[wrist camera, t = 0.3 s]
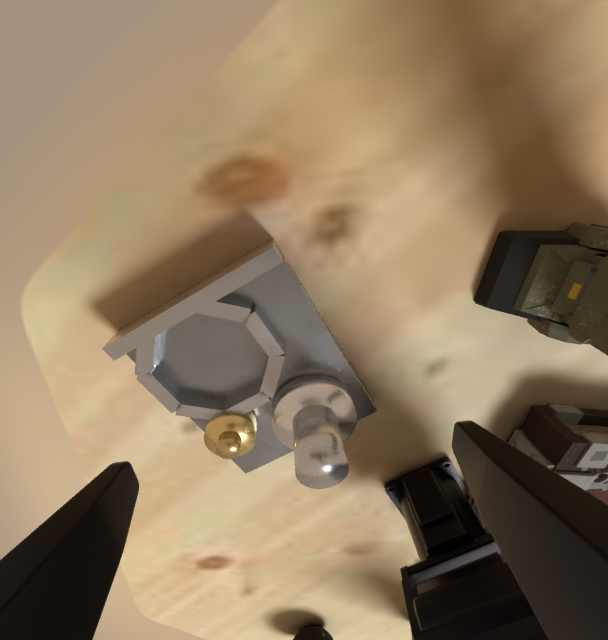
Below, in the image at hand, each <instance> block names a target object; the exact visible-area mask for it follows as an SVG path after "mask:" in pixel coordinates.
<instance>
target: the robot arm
mask: <svg viewBox="0 0 608 640" xmlns="http://www.w3.org/2000/svg"><path fill="white" fill-rule="evenodd" d="M452 448H453V452H454V455H455V457H456V459H457V462H458V464H459V466H460V469H461V471H462V473H463V476H464V478H465V480H466V483H467V485H468V488H469V490H470V492H471V495H472V497H473V499H474V501H475V504H476V506H477V508H478V510H479V512H480V514H481V516H482V518H483V519H484V521H485V523H486V525H487V527H488V529H489V530H490V532H491V533H488V534H486V532H485V530H484V529H483V527H482V525H481V523H480V522H479V520H478V518H477V516H476V514H475V513H474V511H473V509H472V507H471V506H470V504H469V502H468V500H469V499H470V496H469V494H468V493H467V491H466V489H465V487H464V485H463V483H462V481H461V479H460V477H459V475H458V473H457V471H456V469H455V467H454V465H453V464H452V462H451V460H450V459H449V458H444V459H441V460H439V461H437V462H434V463H432V464H430V465H427V466H425V467H423V468H421V469H418V470H416V471H414V472H411V473H409V474H407V475H404V476H402V477H400V478H398V479H395V480H393V481H391V482H388V483H387V484H385V486H384V487H385V490H386V493H387V494H388V495H389V497H390V498H391V500H392V501H393V502H394V504H395V505H396V507H397V508H398V509H399V511H400V512H401V514H402V515H403V517H404V518H405V520H406V522H407V525H408V528H409V531H410V533H411V536H412V539H413V542H414V544H415V547H416V550H417V553H418V555H419V558H420V561H421V562H418V563H416V564H413V565H411V566H409V567H407V566H405V567H403V568H401V575H402V579H403V580H402V586H403V591H404V596H405V601H406V606H407V611H408V615H409V620H410V625H411V632H412V640H608V504H606V503H605V502H603V501H601V500H600V499H598V498H596V497H595V496H593V495H592V494H590V493H588V492H587V491H585V490H583V489H582V488H580V487H579V486H577V485H575V484H574V483H572V482H570V481H569V480H567V479H566V478H564V477H562V476H561V475H559V474H557V473H556V472H554V471H553V470H551V469H549V468H548V467H546V466H544V465H543V464H541V463H540V462H538V461H536V460H535V459H533V458H531V457H530V456H528V455H527V454H525V453H523V452H522V451H520V450H518V449H517V448H515V447H514V446H512V445H510V444H509V443H507V442H505V441H504V440H502V439H501V438H499V437H497V436H496V435H494V434H492V433H491V432H489V431H488V430H486V429H484V428H483V427H481V426H479V425H478V424H476V423H475V422H473V421H460V422H456V424H455V426H454V433H453V440H452ZM138 491H139V482H138V479H137V477H136V475H135V472H134V470H133V468H132V466H131V464H130V463H129V462H127V461H125V462H117V463H112V464H111V465H109V466H108V467H107V468H106V469H105V470H104V471H102V472H101V473H100V474H99V475H98V476H97V477H96V478H94V479H93V480H92V481H91V482H90V483H89V484H87V485H86V486H85V487H84V488H83V489H82V490H81V491H79V493H77V494H76V495H75V496H74V497H72V498H71V499H70V500H69V501H68V502H67V503H66V504H64V505H63V506H62V507H61V508H60V509H59V510H57V511H56V512H55V513H54V514H53V515H52V516H51V517H50V518H48V519H47V520H46V521H45V522H44V523H43V524H41V525H40V526H39V527H38V528H37V529H36V530H34V531H33V532H32V533H31V534H30V535H29V536H28V537H27V538H25V539H24V540H23V541H22V542H21V543H20V544H18V545H17V546H16V547H15V548H14V549H13V550H11V551H10V552H9V553H8V554H7V555H6V556H4V557H3V558H2V559H1V560H0V640H92V639H93V636H94V634H95V631H96V628H97V625H98V622H99V619H100V617H101V614H102V611H103V608H104V605H105V602H106V600H107V596H108V594H109V591H110V588H111V585H112V582H113V580H114V577H115V574H116V571H117V568H118V566H119V563H120V560H121V557H122V554H123V550H124V547H125V543H126V540H127V536H128V532H129V528H130V524H131V519H132V515H133V511H134V507H135V503H136V499H137V495H138Z"/></svg>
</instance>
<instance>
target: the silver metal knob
mask: <svg viewBox="0 0 608 640" xmlns="http://www.w3.org/2000/svg"><path fill="white" fill-rule="evenodd" d="M356 421H357V414H356V410H355V407H354V403H353V400H352V397H351V394H350V392H349V391H348V389H347V388H346V387H345V386H344V385H343V384H342V383H341V382H339V381H338V380H336V379H334V378H331V377H328V376H323V375H308V376H303V377H300V378H297V379H295V380H292V381H291V382H289V383H287V384H286V385H285V386H284V387H283V388H282V389H281V390H280V391H279V392H278V393H277V395H276V397H275V399H274V402H273V410H272V426H273V431H274V433H275V435H276V437H277V438H278V440H279V441H280V442H281V443H282V444H284V445H285V446H287V447H288V448H290V449H293V450H294V457H295V472H296V477H297V479H298V480H299V482H300V483H302V484H303V485H305V486H307V487H310V488H315V489H323V488H329V487H332V486H334V485H336V484H338V483H340V482H341V481H342V480H343V479H344V478H345V477H346V475H347V474H348V471H349V465H348V461H347V456H346V452H345V448H344V444H343V442H344V441H345V440H346V439H347V438H348V437H349V436H350V435H351V434H352V432H353V430H354V428H355V426H356Z"/></svg>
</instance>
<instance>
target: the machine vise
mask: <svg viewBox="0 0 608 640" xmlns="http://www.w3.org/2000/svg"><path fill="white" fill-rule="evenodd" d="M508 443H509V444H510V445H512V446H514V447H515V448H517V449H518V450H520V451H522V452H523V453H525V454H527V455H528V456H530V457H531V458H533V459H535V460H536V461H538V462H540V463H541V464H543V465H544V466H546V467H548V468H549V469H551V470H553V471H554V472H556V473H557V474H559V475H561V476H562V477H564V478H566V479H567V480H569V481H570V482H572V483H574V484H575V485H577V486H579V487H580V488H582V489H583V490H585V491H587V492H588V493H590V494H592V495H593V496H595V497H596V498H598V499H600V500H601V501H603V502H605V503H606V504H608V411H599V410H586V409H578V408H577V407H576V406H574V405H562V404H548V405H547V407H546V406H534V407H533V409H532V410H531V412H530V414H529V416H528V417H527V419H526V421H525V422H524V424H523V426H522V428H521V429H516V430H515V431H514V433H513V435H512V437H511V438H510V440H509V442H508ZM472 509H473V511H474V513H475V514H476V516H477V518H478V520H479V522H480V523H481V525H482V527H483V529H484V530H485V532H486V534H488V533H491V532H490V530H489V529H488V527H487V525H486V523H485V521H484V519H483V518H482V516H481V514H480V512H479V510H478V508H477V506H476V504H475V502H474V503H473V505H472Z"/></svg>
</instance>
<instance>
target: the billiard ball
mask: <svg viewBox="0 0 608 640" xmlns="http://www.w3.org/2000/svg"><path fill="white" fill-rule="evenodd" d="M293 640H333V638H332V636H331V635H330V634H329V633H328V632H327V631H326V630H325V629H323V628H321V627H318V626H309V627H306V628H304V629H302V630H301V631H300V632H298V634H297V635H296V636H295V637H294V639H293Z"/></svg>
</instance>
